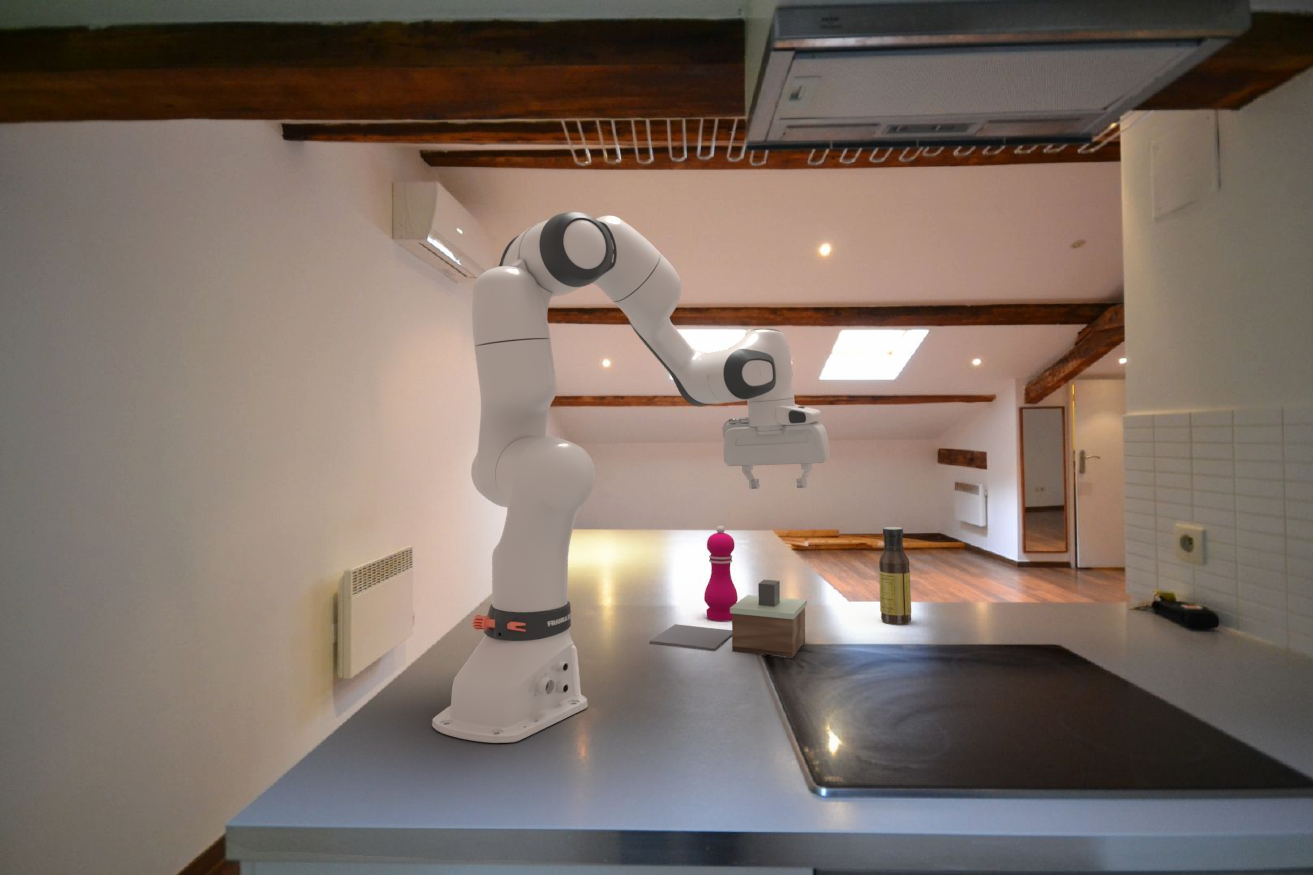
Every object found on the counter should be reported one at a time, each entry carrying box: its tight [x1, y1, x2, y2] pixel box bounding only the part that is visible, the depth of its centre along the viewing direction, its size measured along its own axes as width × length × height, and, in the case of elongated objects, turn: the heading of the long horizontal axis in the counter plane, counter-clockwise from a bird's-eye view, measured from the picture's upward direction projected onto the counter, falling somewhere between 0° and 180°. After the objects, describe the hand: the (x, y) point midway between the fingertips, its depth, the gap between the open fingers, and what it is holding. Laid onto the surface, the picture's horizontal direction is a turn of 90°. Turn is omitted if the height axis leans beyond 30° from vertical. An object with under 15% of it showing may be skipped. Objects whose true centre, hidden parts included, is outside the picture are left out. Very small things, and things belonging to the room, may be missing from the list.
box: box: [731, 607, 806, 658], centre depth 131 cm, size 11×11×7 cm
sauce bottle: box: [878, 526, 912, 626], centre depth 149 cm, size 6×6×20 cm
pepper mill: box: [703, 525, 739, 622], centre depth 152 cm, size 7×7×20 cm
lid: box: [730, 579, 808, 619], centre depth 131 cm, size 12×12×6 cm
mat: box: [649, 623, 732, 652], centre depth 137 cm, size 13×13×1 cm
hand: (778, 488), depth 133 cm, fingers open, 8 cm apart
